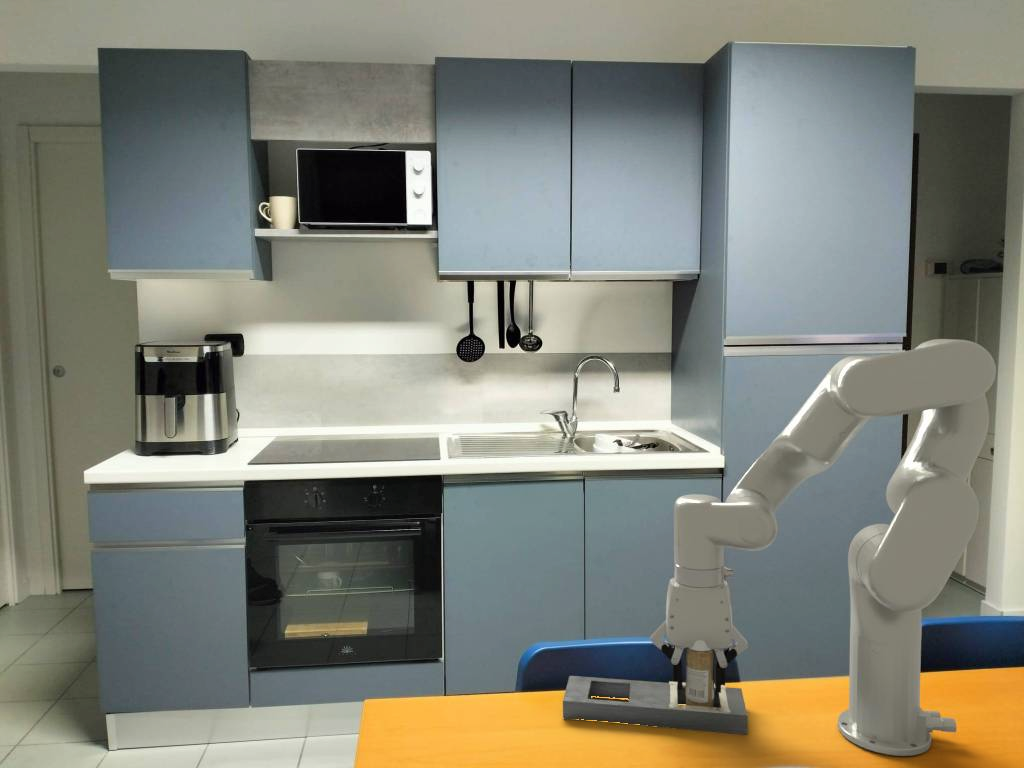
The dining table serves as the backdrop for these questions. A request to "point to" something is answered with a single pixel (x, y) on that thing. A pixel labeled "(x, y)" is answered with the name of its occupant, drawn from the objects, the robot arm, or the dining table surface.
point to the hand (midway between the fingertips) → (698, 686)
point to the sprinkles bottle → (699, 675)
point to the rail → (653, 705)
